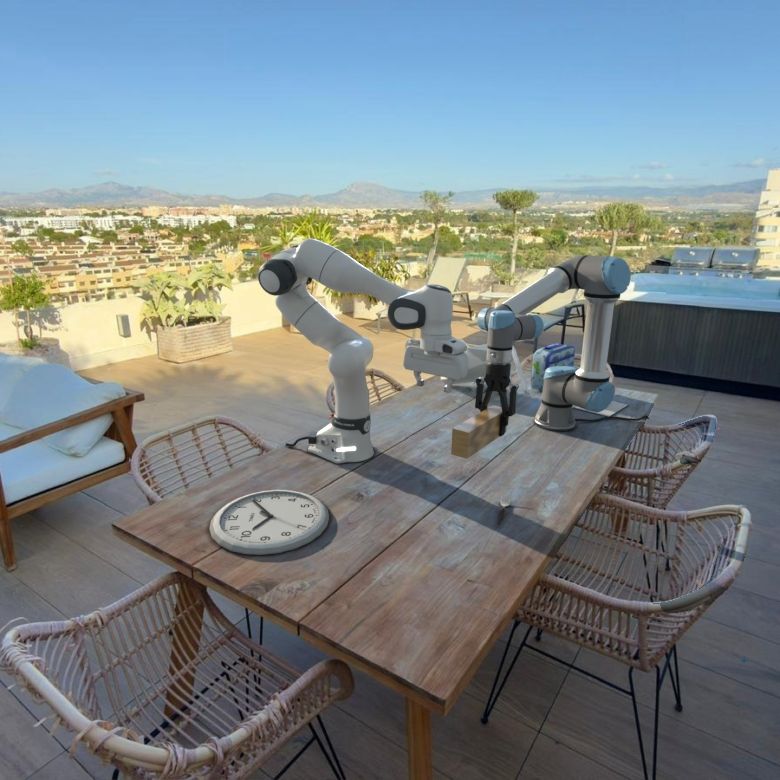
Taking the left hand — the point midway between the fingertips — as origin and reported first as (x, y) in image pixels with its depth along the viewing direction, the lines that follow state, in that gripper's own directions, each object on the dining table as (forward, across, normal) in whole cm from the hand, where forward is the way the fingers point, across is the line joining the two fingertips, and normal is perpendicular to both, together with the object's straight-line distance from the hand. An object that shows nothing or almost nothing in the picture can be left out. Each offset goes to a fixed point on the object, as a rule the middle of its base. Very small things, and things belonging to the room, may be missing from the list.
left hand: (433, 388), depth 153 cm
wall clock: (+28, -18, -48) cm, 58 cm away
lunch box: (+28, -4, +114) cm, 118 cm away
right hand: (+17, +11, +19) cm, 28 cm away
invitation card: (+28, +23, +102) cm, 108 cm away
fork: (+28, +28, -7) cm, 40 cm away
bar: (+17, +11, +10) cm, 23 cm away
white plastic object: (+28, -28, +86) cm, 94 cm away
